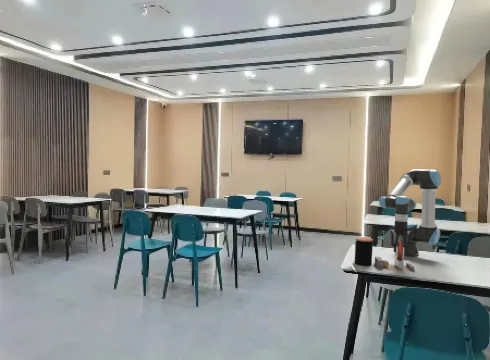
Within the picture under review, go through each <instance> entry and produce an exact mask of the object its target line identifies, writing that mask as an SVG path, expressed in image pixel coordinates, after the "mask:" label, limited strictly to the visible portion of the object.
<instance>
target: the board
mask: <svg viewBox="0 0 490 360" xmlns="http://www.w3.org/2000/svg"><path fill="white" fill-rule="evenodd" d="M384 261H385V260H384V259H382V257H380V256H374V263H373V262H372V265H374V266H375V268H376V269H377V270H385V271H386V270H388V271H399V272H400V271H401V272H402V271H403V272H416V271H415V266H414V264H412V263H410V262H405V265H404V268H403V269H398V268H397V267H396V266H395V265H394V264H389V265H388V266H387V267H384V266H383V262H384Z"/></svg>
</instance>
